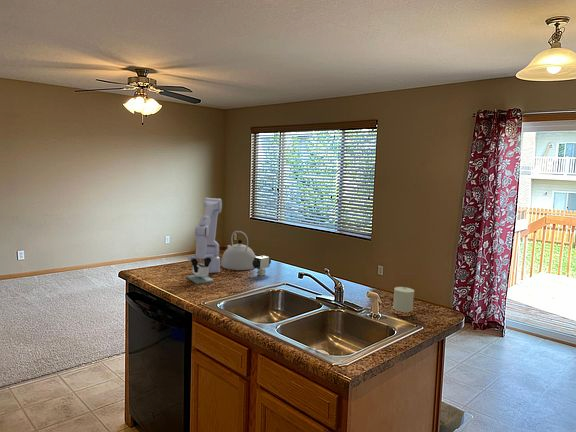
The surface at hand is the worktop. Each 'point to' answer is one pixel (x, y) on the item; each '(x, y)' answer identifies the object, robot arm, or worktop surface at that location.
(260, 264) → the pneumatic valve
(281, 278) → the worktop surface
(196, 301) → the worktop surface
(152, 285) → the worktop surface
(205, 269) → the block
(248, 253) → the kettle
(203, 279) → the board
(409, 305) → the can
